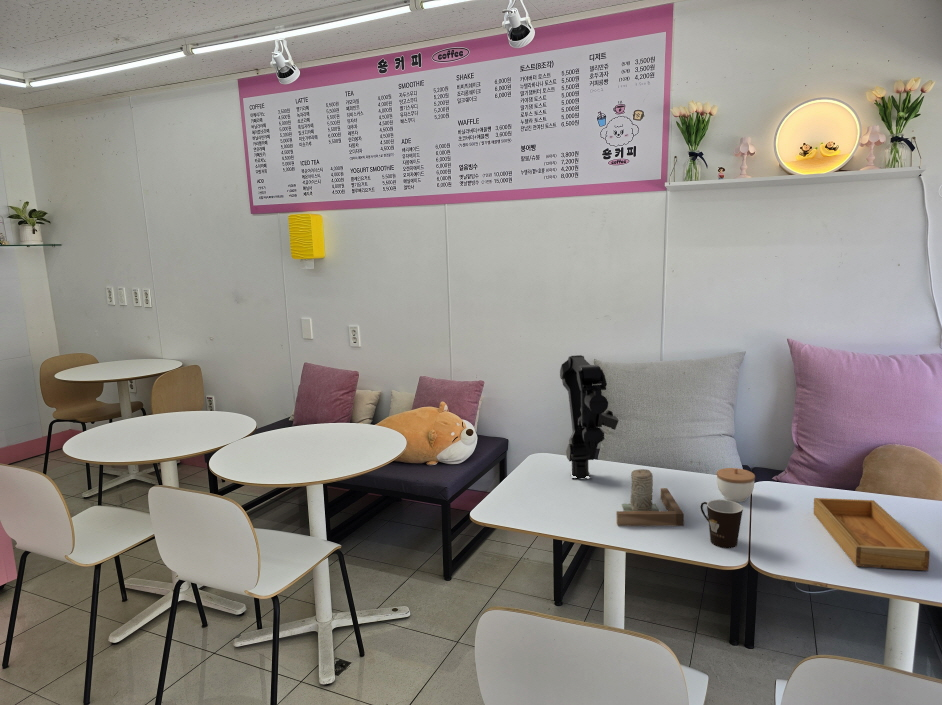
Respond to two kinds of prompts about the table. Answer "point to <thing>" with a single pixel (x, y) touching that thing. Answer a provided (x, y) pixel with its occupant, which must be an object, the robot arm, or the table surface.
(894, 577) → the table surface
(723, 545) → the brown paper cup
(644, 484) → the carving
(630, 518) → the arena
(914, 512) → the table surface
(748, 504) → the table surface
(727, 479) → the lidded jar
